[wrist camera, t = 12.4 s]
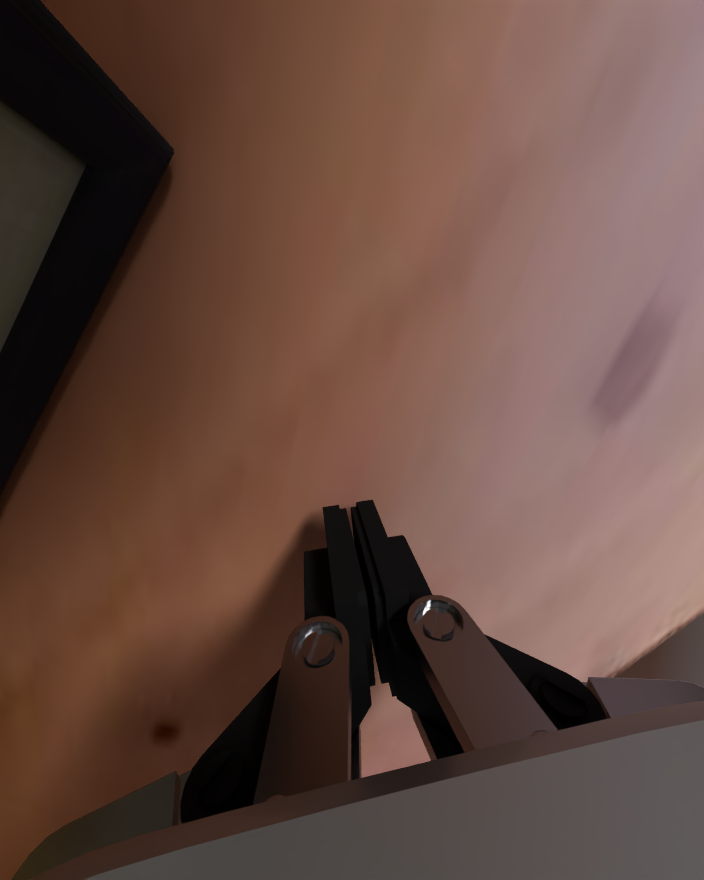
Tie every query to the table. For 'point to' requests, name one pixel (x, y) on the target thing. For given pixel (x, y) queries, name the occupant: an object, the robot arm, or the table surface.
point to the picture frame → (59, 204)
